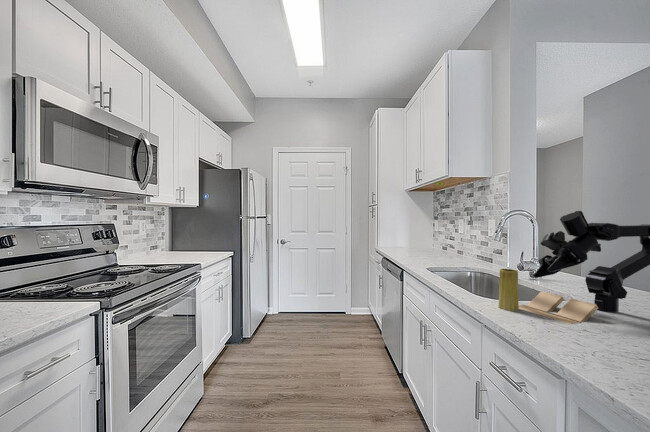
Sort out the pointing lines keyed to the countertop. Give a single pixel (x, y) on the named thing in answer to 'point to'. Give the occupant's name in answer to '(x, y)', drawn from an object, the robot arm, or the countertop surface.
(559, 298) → the plank
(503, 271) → the vase
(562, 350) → the countertop surface
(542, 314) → the laid board
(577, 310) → the plank
